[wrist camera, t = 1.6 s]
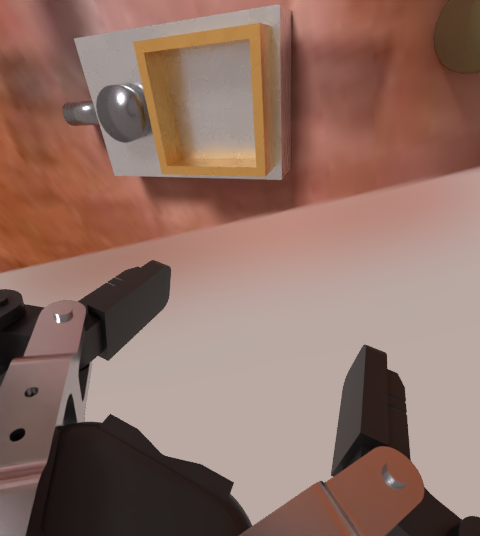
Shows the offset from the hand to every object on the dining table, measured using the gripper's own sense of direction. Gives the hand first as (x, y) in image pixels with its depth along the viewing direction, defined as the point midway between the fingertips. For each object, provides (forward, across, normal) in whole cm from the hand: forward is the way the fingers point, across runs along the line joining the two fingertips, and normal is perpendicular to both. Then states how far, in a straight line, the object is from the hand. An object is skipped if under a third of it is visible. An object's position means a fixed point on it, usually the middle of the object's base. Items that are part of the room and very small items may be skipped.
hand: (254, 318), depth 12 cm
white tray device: (+23, +18, -4) cm, 30 cm away
